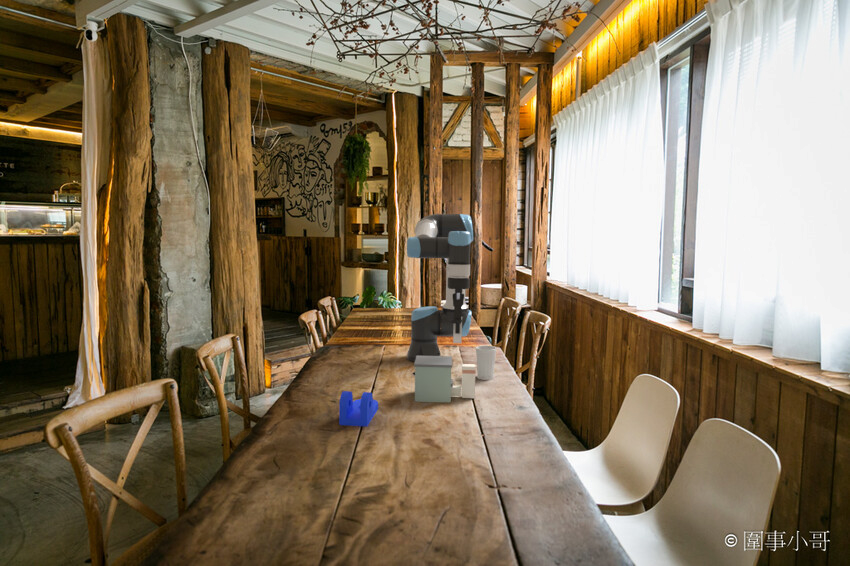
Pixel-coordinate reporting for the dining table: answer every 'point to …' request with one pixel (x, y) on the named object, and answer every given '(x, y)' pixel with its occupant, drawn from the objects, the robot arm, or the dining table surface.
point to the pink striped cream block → (466, 382)
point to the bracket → (356, 409)
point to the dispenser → (433, 378)
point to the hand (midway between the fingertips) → (457, 339)
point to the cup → (485, 362)
